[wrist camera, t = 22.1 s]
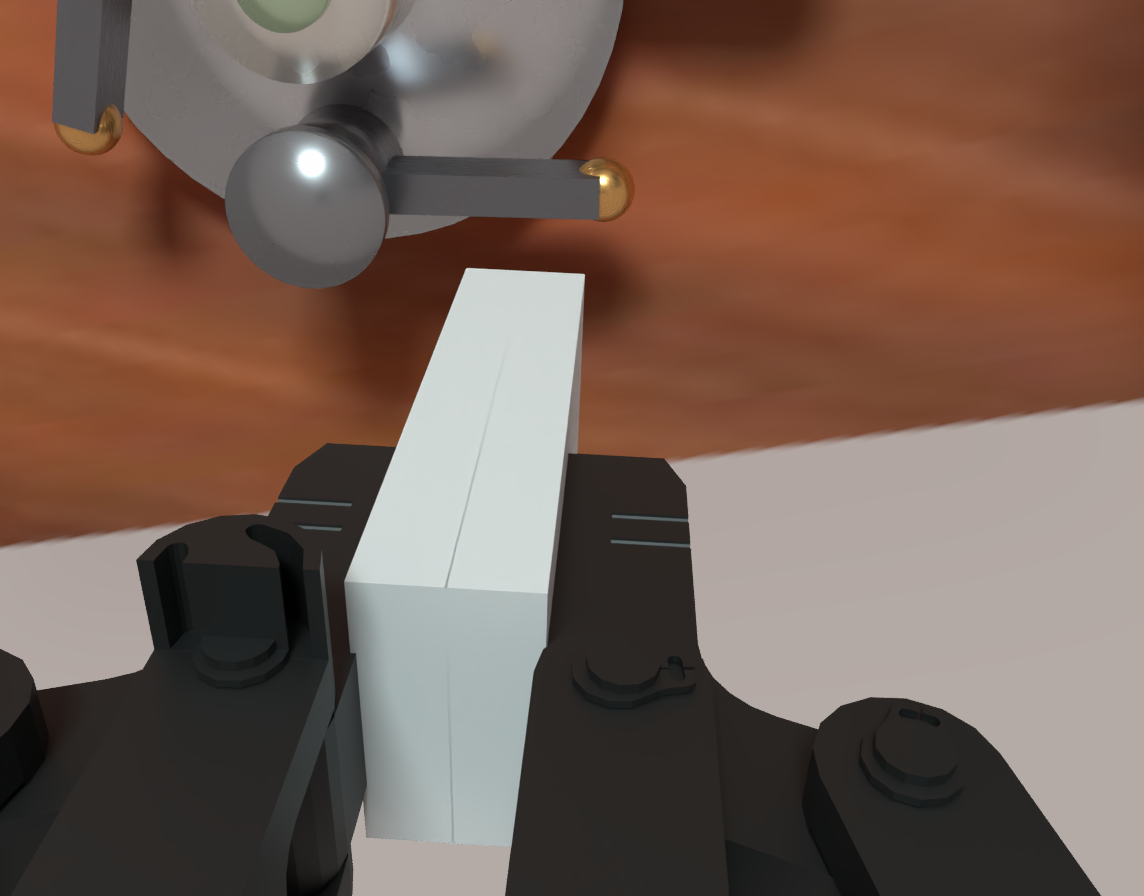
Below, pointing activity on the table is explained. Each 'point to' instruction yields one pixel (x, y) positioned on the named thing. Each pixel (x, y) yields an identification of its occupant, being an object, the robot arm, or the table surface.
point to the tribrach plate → (365, 75)
